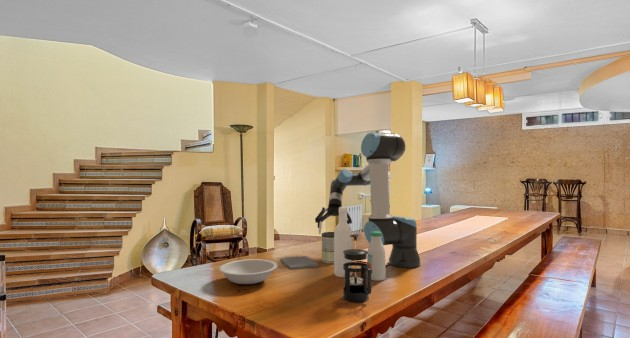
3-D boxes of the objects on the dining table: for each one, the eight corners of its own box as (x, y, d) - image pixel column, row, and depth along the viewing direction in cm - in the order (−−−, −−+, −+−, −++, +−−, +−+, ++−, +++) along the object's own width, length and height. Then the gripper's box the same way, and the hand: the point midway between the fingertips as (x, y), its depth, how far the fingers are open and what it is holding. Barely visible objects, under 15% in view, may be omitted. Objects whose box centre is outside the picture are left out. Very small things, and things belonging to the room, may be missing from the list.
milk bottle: (386, 276, 154) (386, 230, 154) (384, 282, 147) (383, 233, 147) (369, 275, 157) (368, 230, 157) (365, 280, 150) (365, 232, 150)
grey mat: (318, 266, 171) (318, 264, 171) (290, 269, 166) (290, 267, 166) (306, 257, 188) (306, 255, 188) (280, 260, 183) (280, 258, 183)
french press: (336, 297, 129) (335, 234, 129) (352, 291, 136) (352, 231, 136) (361, 306, 121) (361, 239, 121) (377, 299, 127) (377, 235, 128)
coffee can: (322, 258, 187) (322, 231, 187) (341, 258, 186) (341, 231, 186) (320, 263, 177) (320, 235, 177) (341, 263, 176) (341, 235, 176)
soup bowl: (215, 277, 154) (215, 262, 154) (268, 271, 164) (268, 256, 164) (223, 295, 132) (223, 277, 132) (284, 286, 142) (284, 270, 142)
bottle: (333, 272, 161) (333, 206, 161) (351, 272, 161) (350, 206, 161) (334, 277, 153) (334, 208, 153) (353, 277, 153) (352, 208, 153)
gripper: (357, 206, 204) (355, 237, 189) (314, 206, 209) (310, 236, 194) (356, 198, 199) (355, 229, 184) (313, 197, 203) (308, 228, 189)
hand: (332, 232), depth 189 cm, fingers open, 13 cm apart
